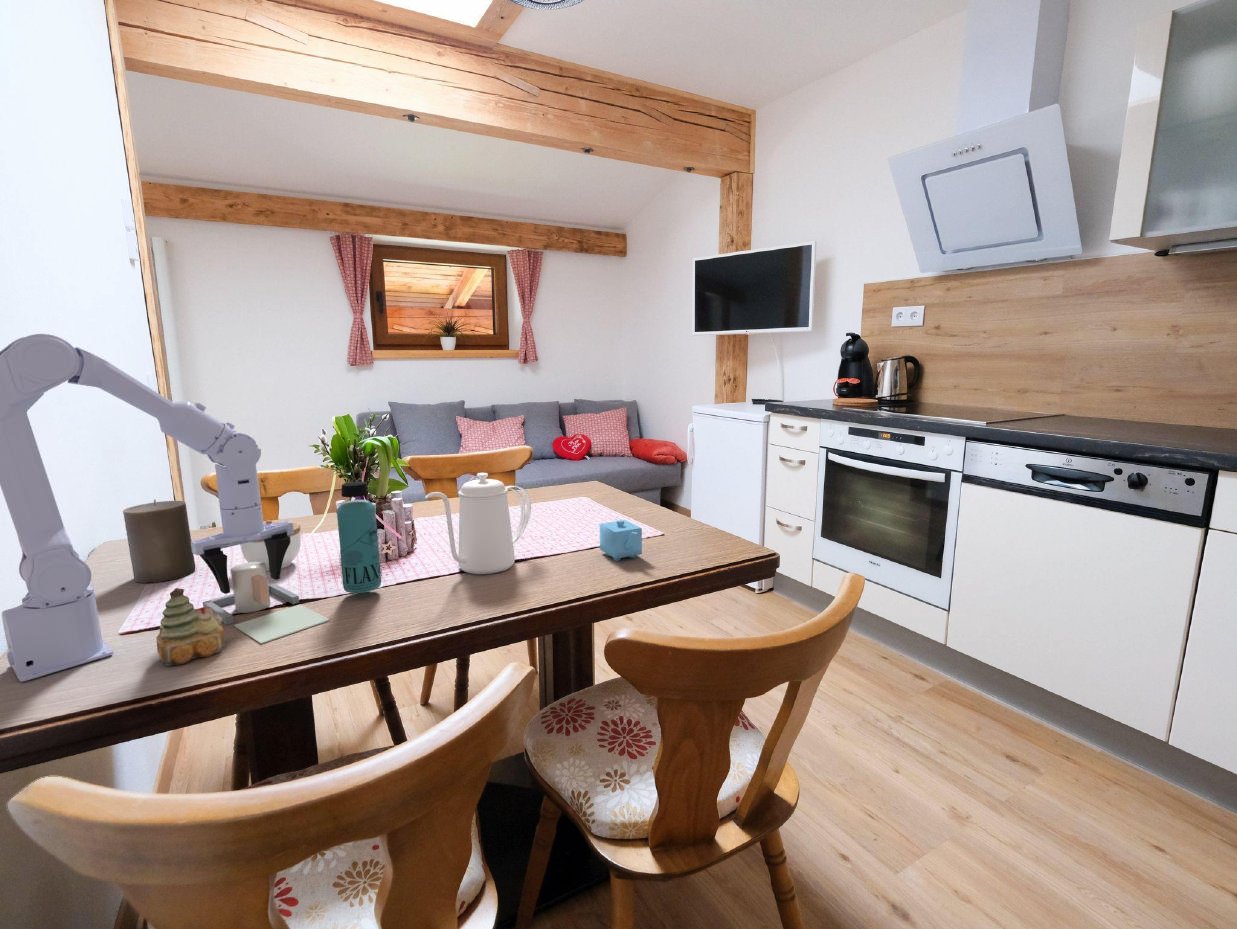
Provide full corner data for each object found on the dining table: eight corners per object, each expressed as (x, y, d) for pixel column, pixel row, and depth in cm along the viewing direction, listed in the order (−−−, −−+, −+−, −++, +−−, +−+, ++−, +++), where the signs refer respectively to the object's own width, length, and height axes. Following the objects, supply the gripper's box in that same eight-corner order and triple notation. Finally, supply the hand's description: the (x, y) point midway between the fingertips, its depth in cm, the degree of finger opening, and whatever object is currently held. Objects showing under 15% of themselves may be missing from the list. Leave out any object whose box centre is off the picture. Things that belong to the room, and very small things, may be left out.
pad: (261, 644, 87) (260, 642, 87) (234, 626, 93) (233, 624, 93) (329, 620, 95) (329, 619, 95) (300, 605, 101) (300, 604, 101)
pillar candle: (206, 570, 119) (196, 495, 117) (152, 586, 111) (139, 506, 108) (177, 564, 123) (166, 492, 121) (122, 579, 115) (109, 502, 112)
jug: (230, 607, 101) (225, 567, 99) (263, 598, 104) (258, 559, 103) (250, 620, 96) (245, 578, 95) (283, 609, 100) (278, 569, 98)
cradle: (226, 624, 94) (225, 617, 94) (203, 609, 100) (202, 602, 100) (299, 602, 102) (298, 595, 102) (273, 589, 109) (273, 582, 108)
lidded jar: (249, 561, 124) (243, 517, 123) (307, 554, 128) (302, 511, 126) (237, 578, 114) (230, 530, 113) (300, 571, 118) (295, 524, 116)
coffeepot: (413, 580, 112) (406, 481, 109) (513, 546, 132) (509, 461, 129) (450, 592, 106) (443, 488, 103) (549, 555, 125) (546, 466, 122)
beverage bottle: (340, 603, 102) (328, 487, 98) (346, 589, 108) (336, 480, 105) (381, 599, 103) (371, 485, 100) (385, 585, 110) (376, 477, 106)
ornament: (219, 638, 90) (211, 574, 88) (233, 650, 86) (224, 583, 84) (153, 658, 84) (143, 589, 82) (165, 672, 80) (154, 601, 78)
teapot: (650, 563, 120) (650, 526, 119) (623, 568, 117) (622, 531, 116) (622, 547, 131) (622, 513, 129) (597, 551, 128) (596, 517, 127)
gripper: (197, 518, 90) (210, 604, 92) (298, 500, 101) (306, 577, 104) (181, 512, 94) (194, 594, 97) (279, 494, 105) (288, 568, 108)
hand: (251, 584), depth 100 cm, fingers open, 7 cm apart
